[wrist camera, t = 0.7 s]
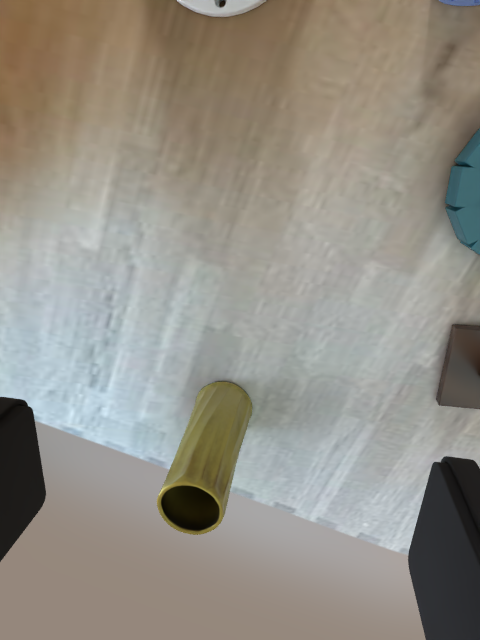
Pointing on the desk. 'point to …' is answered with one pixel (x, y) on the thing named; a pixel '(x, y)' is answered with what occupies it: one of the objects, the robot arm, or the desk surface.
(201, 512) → the vase
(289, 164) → the desk surface
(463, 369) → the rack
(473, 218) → the ring
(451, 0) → the decorative dice
